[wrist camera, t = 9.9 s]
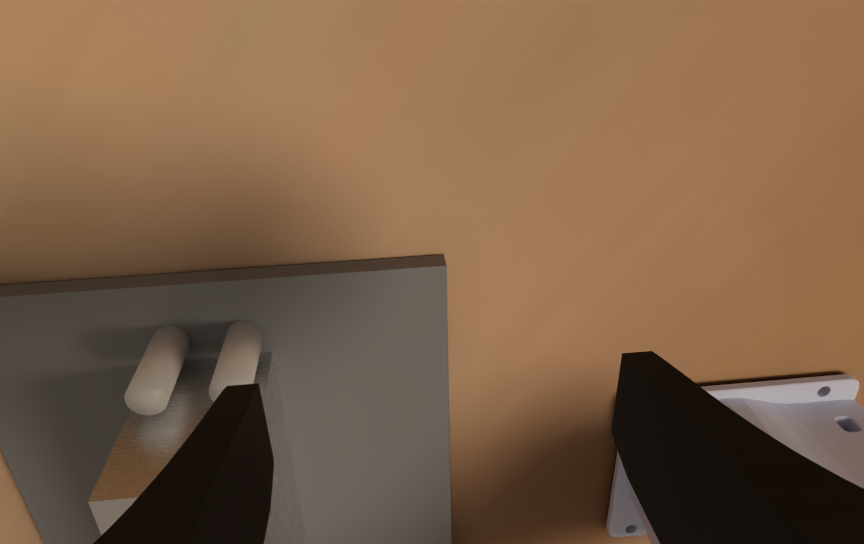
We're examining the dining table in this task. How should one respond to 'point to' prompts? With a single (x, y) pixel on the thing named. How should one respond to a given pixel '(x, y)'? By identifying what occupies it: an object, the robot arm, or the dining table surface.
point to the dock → (238, 358)
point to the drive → (166, 432)
